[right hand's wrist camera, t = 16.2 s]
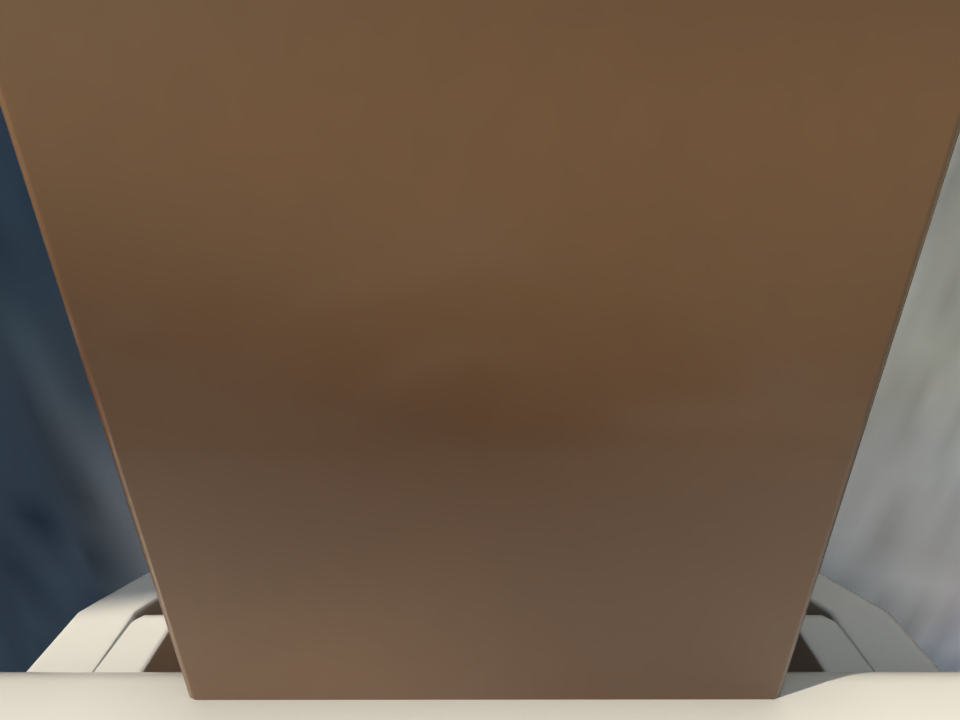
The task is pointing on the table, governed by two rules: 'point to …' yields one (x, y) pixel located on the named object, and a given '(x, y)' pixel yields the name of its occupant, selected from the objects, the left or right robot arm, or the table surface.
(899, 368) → the table surface
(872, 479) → the table surface
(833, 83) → the box
